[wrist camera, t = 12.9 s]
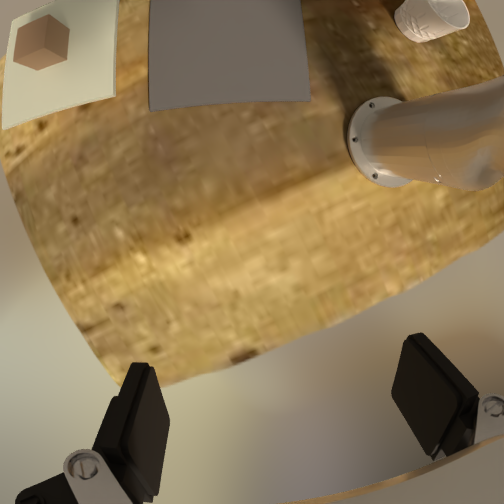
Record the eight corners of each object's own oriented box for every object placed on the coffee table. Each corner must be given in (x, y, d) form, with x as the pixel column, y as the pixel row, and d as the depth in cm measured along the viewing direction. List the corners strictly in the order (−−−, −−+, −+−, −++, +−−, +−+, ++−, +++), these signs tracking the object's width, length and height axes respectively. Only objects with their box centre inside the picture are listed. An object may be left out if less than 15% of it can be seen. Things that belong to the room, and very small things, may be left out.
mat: (296, -21, 29) (296, -23, 29) (309, 101, 35) (310, 100, 35) (152, -13, 28) (151, -15, 28) (151, 111, 34) (149, 111, 34)
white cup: (391, 37, 32) (428, 14, 23) (388, -3, 30) (420, -29, 21) (433, 52, 33) (473, 37, 24) (429, 13, 31) (464, -6, 21)
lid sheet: (121, -19, 21) (106, -43, 15) (115, 96, 25) (93, 84, 20) (15, 22, 20) (-10, 9, 14) (5, 129, 24) (-25, 128, 19)
